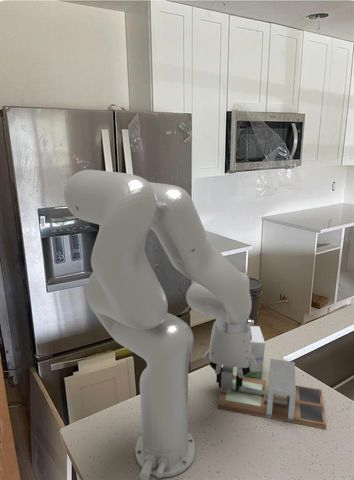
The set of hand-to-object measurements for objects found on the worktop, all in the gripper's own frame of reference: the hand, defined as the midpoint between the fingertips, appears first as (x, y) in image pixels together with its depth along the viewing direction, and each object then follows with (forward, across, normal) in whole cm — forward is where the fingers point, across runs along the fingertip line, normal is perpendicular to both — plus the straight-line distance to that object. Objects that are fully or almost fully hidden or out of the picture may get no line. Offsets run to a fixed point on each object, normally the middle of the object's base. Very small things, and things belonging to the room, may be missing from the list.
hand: (229, 385), depth 93 cm
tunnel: (+2, -13, 0) cm, 13 cm away
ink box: (+3, -4, -11) cm, 12 cm away
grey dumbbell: (+1, -6, 0) cm, 6 cm away
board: (+2, -10, 0) cm, 11 cm away
